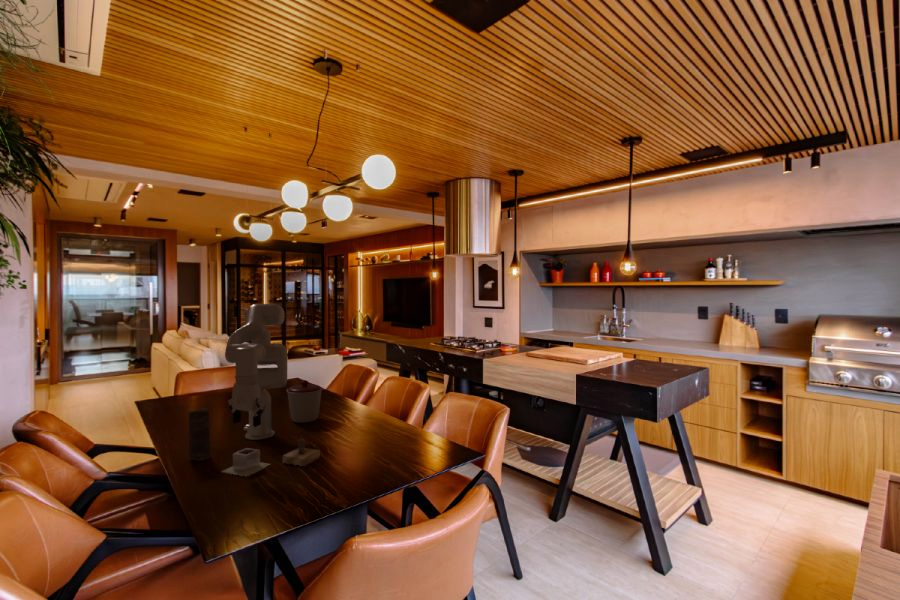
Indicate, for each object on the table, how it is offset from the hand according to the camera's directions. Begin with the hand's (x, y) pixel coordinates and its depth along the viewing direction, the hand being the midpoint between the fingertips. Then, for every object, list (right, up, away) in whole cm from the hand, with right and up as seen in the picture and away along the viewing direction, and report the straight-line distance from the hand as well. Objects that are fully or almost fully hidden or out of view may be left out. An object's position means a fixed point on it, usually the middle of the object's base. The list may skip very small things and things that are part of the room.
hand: (246, 424), depth 163 cm
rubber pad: (0, -17, 0) cm, 17 cm away
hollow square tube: (0, -16, 0) cm, 16 cm away
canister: (+1, -16, +63) cm, 65 cm away
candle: (-23, -17, +9) cm, 30 cm away
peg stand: (+18, -17, +8) cm, 26 cm away
